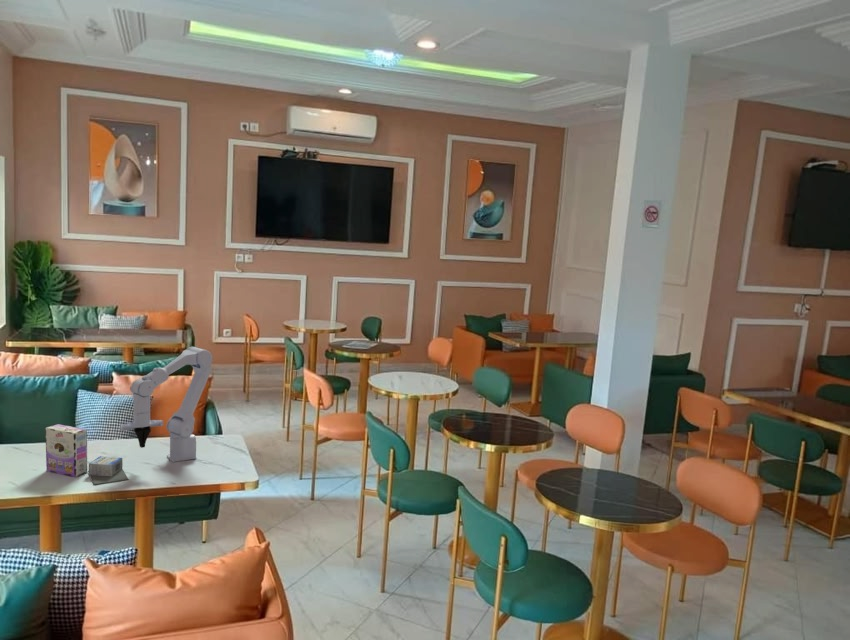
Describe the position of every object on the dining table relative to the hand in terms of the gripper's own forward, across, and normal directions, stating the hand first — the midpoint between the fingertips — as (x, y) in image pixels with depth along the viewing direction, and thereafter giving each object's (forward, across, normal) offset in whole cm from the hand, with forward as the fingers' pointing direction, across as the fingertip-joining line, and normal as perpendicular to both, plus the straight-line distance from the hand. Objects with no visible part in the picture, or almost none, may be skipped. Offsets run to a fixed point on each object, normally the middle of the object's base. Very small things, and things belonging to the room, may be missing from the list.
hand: (142, 446), depth 244 cm
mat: (+8, +12, +3) cm, 15 cm away
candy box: (+8, +24, -7) cm, 27 cm away
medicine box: (+6, +9, +2) cm, 11 cm away
